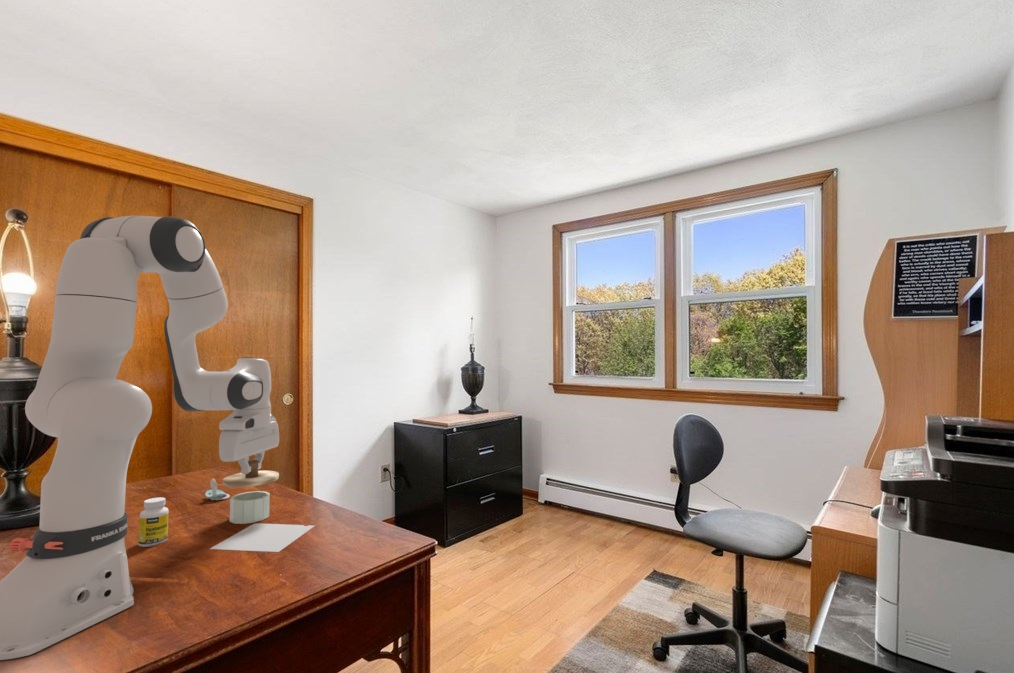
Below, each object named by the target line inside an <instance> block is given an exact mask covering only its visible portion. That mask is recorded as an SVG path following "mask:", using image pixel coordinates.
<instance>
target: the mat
mask: <svg viewBox="0 0 1014 673" xmlns="http://www.w3.org/2000/svg"><path fill="white" fill-rule="evenodd" d="M304 525H305V524H284V523H283V524H282V523H262V522H261V523H257V522H254V523H253V524H251V525H249V526H247V527H245V528H244V529H242V530H240V531H238V532H236V533H235V534H233V535H231V536H230V537H228V538H225V539H224V540H223V541H221V542H219V543H217V544H216V545H213V546H212V547H211V548H209V550H215V551H216V550H219V551H241V552H242V551H245V552H263V553H264V552H265V553H279V552H281V551H282V550H284V549H285V548H286V547H288V546H289V545H291V544H292V543H294V542H296V540H298V539H299V538H300V537H302V536H303V535H305V534H306V533H307V532H309V531H311V529H313V528H314V527H315V525H308V526H304Z"/></svg>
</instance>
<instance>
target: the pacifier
mask: <svg viewBox="0 0 1014 673" xmlns="http://www.w3.org/2000/svg"><path fill="white" fill-rule="evenodd" d="M209 485H210V488H212V489H208V490H206V491H205V492H204V493H205V494H204V495H205V498H207V499H208V500H209V499H210V500H211V501H213V500H216V501H224V500H227V499H230V498H231V497H230V496H231V495H230V494H229V493H226V492H225V491H223V490H222V489H218V483H217V481H216V479H215V478H212V479H211V480H210V483H209Z"/></svg>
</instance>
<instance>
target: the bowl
mask: <svg viewBox="0 0 1014 673" xmlns="http://www.w3.org/2000/svg"><path fill="white" fill-rule="evenodd" d="M270 495H271V492H268V491H265V490H256V491H245V492H241V493H238V494H237V493H236V494H234V495H232V496H231V497H230V498H229V523H232V524H238V525H239V524H241V525H243V524H252V523H253V524H254V523H257V522H260V521H264V520H265V519H267V518H269V517H270Z"/></svg>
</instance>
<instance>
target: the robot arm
mask: <svg viewBox="0 0 1014 673" xmlns="http://www.w3.org/2000/svg"><path fill="white" fill-rule="evenodd" d="M141 273H144V274H157V275H158V276H159V277H160V280H161V284H162V288H163V291H164V293H165V297H166V299H167V302H168V308H169V314H168V315H166V317H165V320H164V322H163V330H164V331H163V332H164V340H165V343H166V348H167V353H168V358H169V364H170V368H171V371H172V378H173V388H172V389H173V398H174V400H175V402H176V403H177V405H178V406H179V407H180V409H182V410H183V411H186V412H189V413H195V412H203V411H232V413H231V414H229V415H228V416H227V417H226V418H224V419H223V420H221V421H220V422H219V424H218V425H219V426H218V428H219V430H220V431H221V432H220V435H219V440H218V441H219V442H218V443H219V444H218V455H219V459H220V461H222V462H225V463H227V462H228V463H229V462H236V461H237V462H238V464H239V467H240V470H241V471H240V473H242V474H248V473H250V472H251V466H249V464H248V461H250V457H251V456H254V460H258V470H259V469H260V470H261V469H262V462H263V460H264V457H265V454H266V453H265V452H266V451H269V450H272V449H275V448H278V446H279V444H280V431H279V423H278V422H277V418H276V417H275V416H274V414H272V403H271V399H270V396H271V392H272V372H271V371H272V370H271V367H270V362H269V361H268V360H267V359H265V358H260V357H254V356H253V357H252V356H251V357H250V356H245V357H243V356H242V357H238V359H237V361H236V364H235V365H234V366H232V367H231V368H229V369H227V370H224V371H211V370H210V371H208V370H205V368H202V367H201V365H200V361H199V357H198V356H199V355H198V350H197V345H196V336H197V334H199V333H201V332H204V331H206V330H208V329H209V328H213V327H214V326H215V325H216V324H217V323H220V321H222V319H223V318H224V317H225V315H226V313H227V311H228V307H229V303H228V298H227V293H226V290H225V287H224V284H223V282H222V278H221V276H220V273H219V271H218V269H217V267H216V265H215V263H214V260H213V258H212V257H211V255H210V253H209V251H208V250H207V248H206V243H205V239H204V236H203V234H202V233H201V231H200V230H199V229H198V227H196V225H195V224H194V223H192V222H191V221H190V220H188V219H184V218H181V217H176V216H167V215H166V216H163V217H162V216H152V215H150V216H147V215H139V214H137V215H125V216H118V217H110V216H108V217H103V218H99V219H97V220H94V221H92V222H90V223H88V224H87V225H86V226H85V227H84V228H83V230H82V232H81V234H80V237H79V239H75V240H74V241H73V242H71V243H70V244H69V245H68V247H67V249H66V251H65V253H64V255H63V258H62V262H61V265H60V268H59V272H58V276H57V281H56V286H55V294H54V295H55V296H54V305H53V306H54V307H53V317H52V324H51V332H50V333H51V334H50V340H49V345H48V349H47V352H46V354H45V357H44V361H43V364H42V366H41V369H40V371H39V372H40V373H39V375H38V378H37V381H36V385H35V387H34V389H33V390H32V392H31V394H29V396H28V398H27V399H26V402H25V407H24V411H25V416H26V418H27V420H28V422H30V423H31V425H32V426H34V427H35V429H37V430H38V431H40V432H41V433H43V435H44V434H45V435H47V436H49V437H53V438H57V445H56V450H55V454H54V456H53V460H52V462H51V465H50V467H49V469H48V472H47V473H46V474H45V476H43V479H42V481H41V483H40V507H39V509H40V510H39V526H38V527H37V528H36V530H35V531H34V534H33V536H32V538H30V537H26V538H24V537H15V538H13V539H12V540H11V541H10V542H9V544H8V545H9V546H8V548H9V551H11V552H20V553H21V552H22V553H23V552H24V553H25V555H26V556H25V557H24V558H23V560H21V561H20V562H19V563H18V564H17V565H16V566H15V567H14V568H13V569H12V570H10V572H8V573H7V574H6V576H5V577H3V578H2V579H1V580H0V661H4V660H13V659H17V658H22V657H27V656H31V655H33V654H35V653H38V652H40V651H42V650H44V649H46V648H48V647H49V646H53V645H54V644H56V643H59V642H60V641H62V640H65V639H66V638H70V637H71V636H73V635H75V634H78V633H79V632H81V631H83V630H85V629H87V628H89V627H92V626H94V625H96V624H98V623H99V622H102V621H104V620H106V619H109V618H111V617H112V616H114V615H116V614H118V613H120V612H123V611H124V610H126V609H128V608H131V607H133V606H134V604H135V601H134V600H135V599H134V596H133V595H134V590H135V589H134V587H133V584H132V582H131V578H130V571H129V563H128V555H127V549H126V544H125V539H126V538H125V537H126V536H127V534H128V526H129V522H128V514H127V512H125V510H126V509H125V508H126V490H127V488H126V487H127V486H126V485H127V473H128V468H129V463H130V460H131V456H132V453H133V450H134V447H135V445H136V441H137V439H138V436H139V435H140V433H141V432H143V430H144V429H145V428H146V427H147V425H148V424H149V422H150V421H151V420H150V419H151V417H152V415H153V414H152V413H153V404H152V400H151V398H150V396H149V395H148V394H147V393H146V392H145V391H144V390H143V389H142V388H139V387H138V386H136V385H135V384H132V383H130V382H127V381H126V380H122V379H118V378H117V377H118V373H119V372H120V369H121V368H120V367H121V365H122V363H123V361H124V358H126V357H125V356H126V355H127V354H128V353H129V351H130V350H131V349H132V347H133V344H134V340H135V329H136V317H137V303H138V278H139V276H140V275H141Z"/></svg>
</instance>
